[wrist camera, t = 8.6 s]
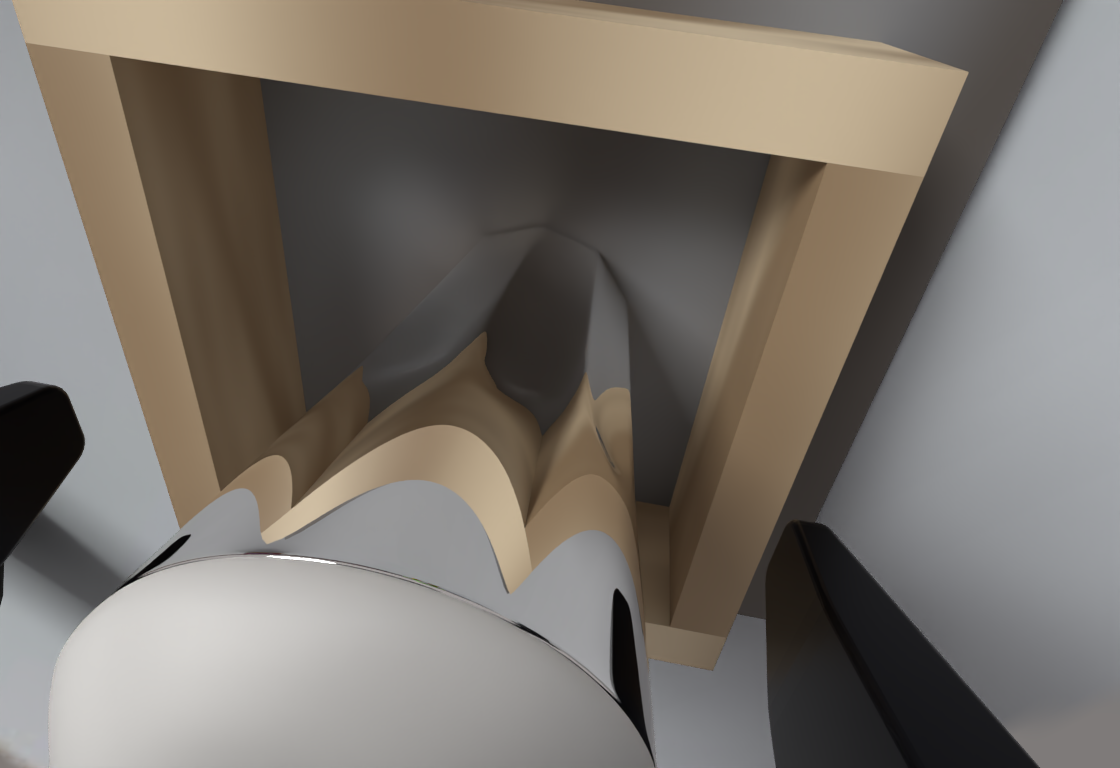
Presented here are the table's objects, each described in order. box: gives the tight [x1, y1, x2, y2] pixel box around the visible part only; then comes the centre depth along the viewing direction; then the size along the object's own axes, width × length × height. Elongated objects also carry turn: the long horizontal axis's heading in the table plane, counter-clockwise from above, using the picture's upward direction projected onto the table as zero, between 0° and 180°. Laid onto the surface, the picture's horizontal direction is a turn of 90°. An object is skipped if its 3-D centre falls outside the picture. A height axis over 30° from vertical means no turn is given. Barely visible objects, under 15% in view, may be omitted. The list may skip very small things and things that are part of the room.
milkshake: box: [48, 226, 657, 768], centre depth 7 cm, size 4×5×10 cm
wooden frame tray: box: [12, 0, 1063, 671], centre depth 11 cm, size 14×14×3 cm
